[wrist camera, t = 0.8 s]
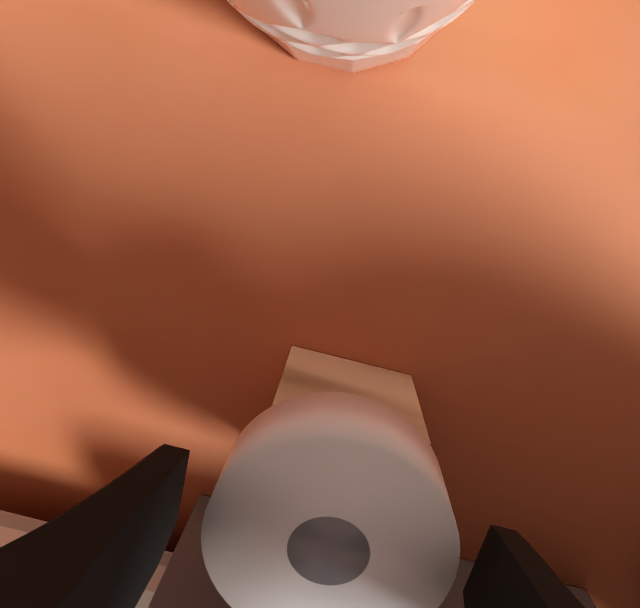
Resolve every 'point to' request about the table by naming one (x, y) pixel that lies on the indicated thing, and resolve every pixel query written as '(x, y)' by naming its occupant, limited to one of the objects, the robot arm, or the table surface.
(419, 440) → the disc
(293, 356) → the birch block
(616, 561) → the table surface
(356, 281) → the table surface
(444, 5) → the white cup
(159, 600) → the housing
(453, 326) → the table surface
